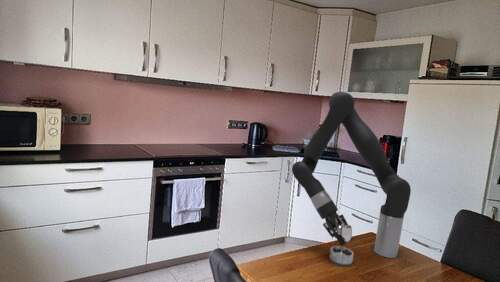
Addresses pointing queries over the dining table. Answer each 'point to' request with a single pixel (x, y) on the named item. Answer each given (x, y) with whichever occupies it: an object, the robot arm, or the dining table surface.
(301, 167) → the robot arm
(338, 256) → the grey bowl
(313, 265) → the dining table surface
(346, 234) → the wineglass
